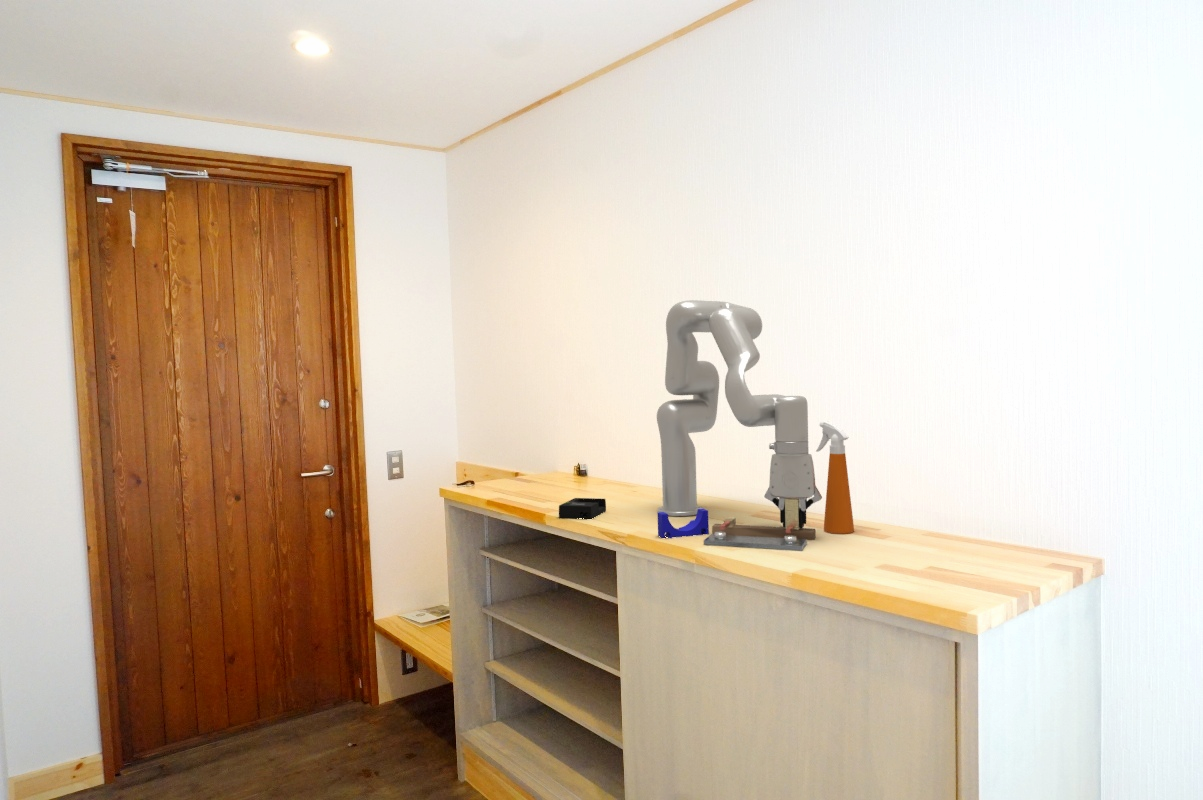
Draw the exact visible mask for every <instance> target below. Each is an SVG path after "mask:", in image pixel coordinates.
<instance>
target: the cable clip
mask: <svg viewBox="0 0 1203 800" xmlns="http://www.w3.org/2000/svg"><path fill="white" fill-rule="evenodd" d="M709 524H710V523H709V509H705V508H703V509H697V515H696V516H695V519H694V520H693V519H692V520H690V521H689V522H688V523H687V524H686V525H684V526H681V527H678V528H675V527H674V526H673V525H672V523H671V521H670V519H669V516H668V514H666V513H664V512H658V511H657V537H659V536H660V537H661V538H660V537H659V538H660V539H662V538H665V539H673V538H672V537H676V538H683V537H682V536H686V537H693V535H696V536H704V535H703V534H707V535H709V534H710V531H709V527H710V526H709ZM665 536H666V537H668V538H666V537H665Z"/></svg>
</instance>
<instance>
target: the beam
mask: <svg viewBox="0 0 1203 800" xmlns="http://www.w3.org/2000/svg"><path fill="white" fill-rule="evenodd" d="M736 519H737V517H729V516H727V517H726V518H724V519H723V523H714V524H713V525H712V526H711V529H712V534H714V533H715V532H726V535H735V536H753V537H771V538H784V536H788V535H792V536H796V539H807V540H811V541H812V540H813V541H815V538H816V536H817V535H816V533H817V532H816V528H809V527H808V528H806V527H803V528H800V529H799V530H795V529H793V530H792V532H791V533H786V527H783V526H769V525H749V524H737V521H736Z"/></svg>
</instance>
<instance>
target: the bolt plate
mask: <svg viewBox="0 0 1203 800" xmlns="http://www.w3.org/2000/svg"><path fill="white" fill-rule="evenodd" d="M807 543H808V542H807V539H796V536H792V535H788V536H784V538H771V537H753V536H735V535H726V532H715V533H714V534H710V535H709V536H707V537H706V538H705V539H704V540H703V546H716V547H717V546H718V547H735V548H752V549H766V550H767V549H769V550H783V551H784V550H785V551H799V552H802V551H803V550H804V548H805V547H806V545H807Z"/></svg>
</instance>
